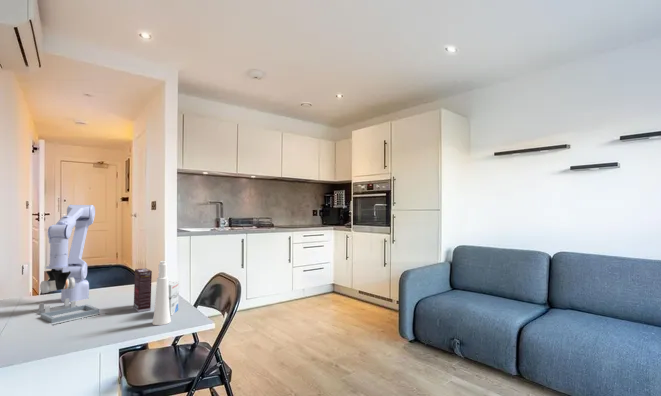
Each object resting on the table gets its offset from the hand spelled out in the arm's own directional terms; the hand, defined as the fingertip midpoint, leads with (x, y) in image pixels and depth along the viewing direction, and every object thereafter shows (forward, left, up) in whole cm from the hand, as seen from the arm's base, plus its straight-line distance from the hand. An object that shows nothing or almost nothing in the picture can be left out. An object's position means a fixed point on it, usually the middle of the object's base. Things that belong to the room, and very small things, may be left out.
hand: (57, 288), depth 138 cm
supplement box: (-21, +24, -9) cm, 33 cm away
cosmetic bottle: (-16, +47, -9) cm, 50 cm away
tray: (0, +13, -9) cm, 16 cm away
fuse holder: (0, 0, -9) cm, 9 cm away
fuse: (0, 0, -1) cm, 1 cm away
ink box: (-24, +38, -9) cm, 46 cm away
